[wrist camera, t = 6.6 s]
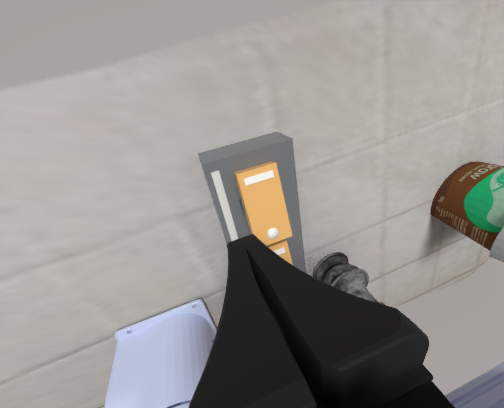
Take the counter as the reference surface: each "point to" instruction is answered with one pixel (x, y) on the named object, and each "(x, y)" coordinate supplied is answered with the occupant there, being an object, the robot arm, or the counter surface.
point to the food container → (474, 204)
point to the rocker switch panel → (227, 194)
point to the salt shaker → (343, 275)
